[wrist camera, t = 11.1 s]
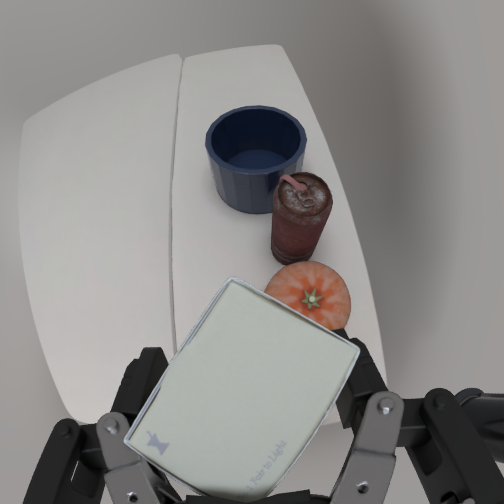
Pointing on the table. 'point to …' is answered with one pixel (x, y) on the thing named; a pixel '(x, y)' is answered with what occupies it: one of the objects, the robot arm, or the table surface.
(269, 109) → the pot
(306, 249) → the rusty soda tin
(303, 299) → the tomato
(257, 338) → the cosmetic box
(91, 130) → the table surface
